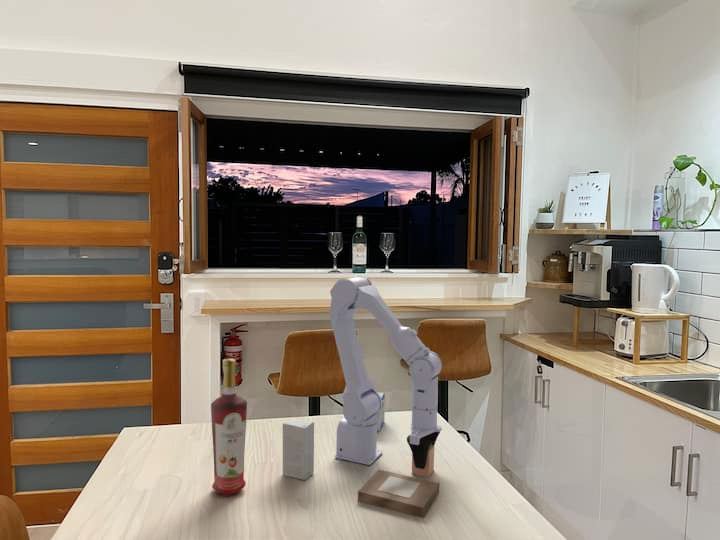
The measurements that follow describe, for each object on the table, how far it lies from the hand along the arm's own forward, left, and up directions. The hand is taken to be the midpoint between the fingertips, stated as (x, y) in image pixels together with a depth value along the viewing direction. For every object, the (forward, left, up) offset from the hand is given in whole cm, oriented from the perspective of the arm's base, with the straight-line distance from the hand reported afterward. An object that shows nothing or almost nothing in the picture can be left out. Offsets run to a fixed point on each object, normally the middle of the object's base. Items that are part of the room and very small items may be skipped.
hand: (423, 463), depth 120 cm
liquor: (-34, -27, -2) cm, 43 cm away
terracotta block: (0, 0, -2) cm, 2 cm away
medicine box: (-21, +21, -2) cm, 30 cm away
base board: (-1, -13, -2) cm, 13 cm away
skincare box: (-25, -14, -2) cm, 29 cm away
